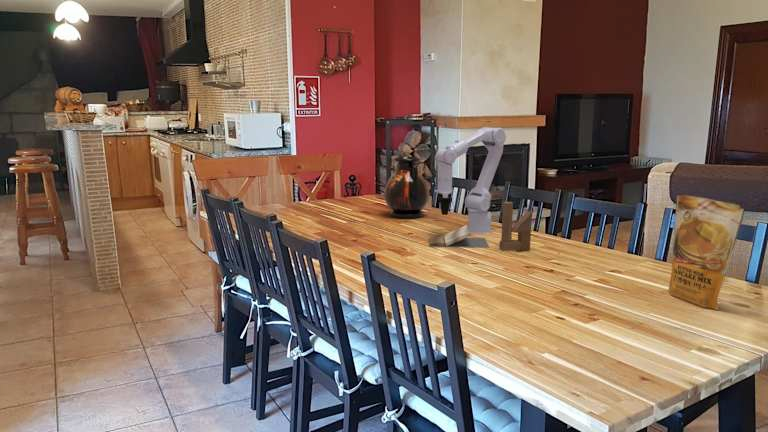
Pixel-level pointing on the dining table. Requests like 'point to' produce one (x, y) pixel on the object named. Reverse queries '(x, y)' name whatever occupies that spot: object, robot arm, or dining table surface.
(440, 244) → the laid plank
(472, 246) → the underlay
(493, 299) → the dining table surface
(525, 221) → the brown wooden upright frame
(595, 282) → the dining table surface
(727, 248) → the pancake mix bag
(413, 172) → the amphora vase
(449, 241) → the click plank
